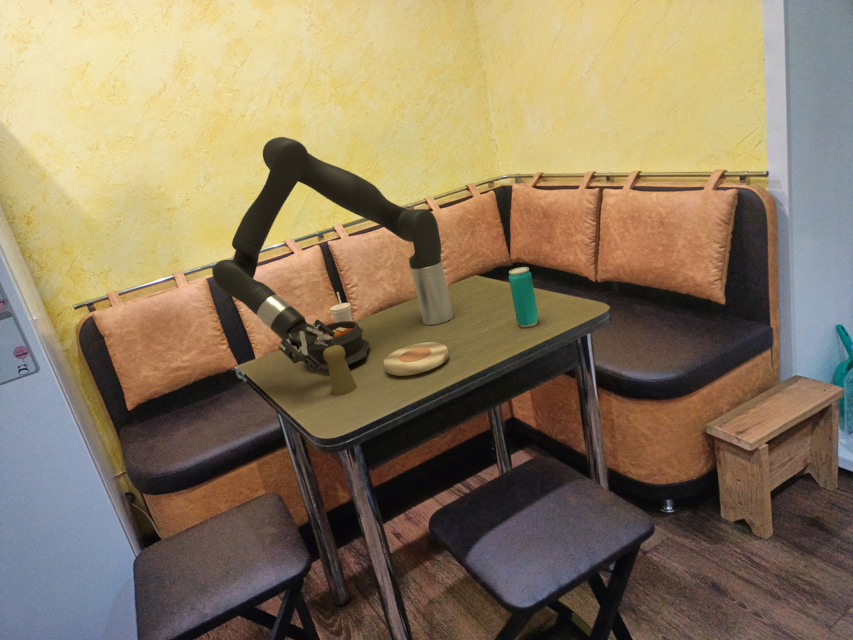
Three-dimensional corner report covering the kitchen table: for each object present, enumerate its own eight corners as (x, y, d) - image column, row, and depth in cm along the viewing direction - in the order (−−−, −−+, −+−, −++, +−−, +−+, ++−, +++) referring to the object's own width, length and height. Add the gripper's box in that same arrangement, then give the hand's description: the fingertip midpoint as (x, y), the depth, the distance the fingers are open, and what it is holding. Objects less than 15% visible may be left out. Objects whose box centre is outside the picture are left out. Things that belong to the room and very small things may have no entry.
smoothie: (362, 331, 184) (350, 288, 180) (351, 339, 179) (339, 295, 175) (345, 332, 187) (333, 290, 183) (334, 340, 182) (321, 297, 178)
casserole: (383, 359, 157) (375, 330, 154) (315, 383, 151) (306, 353, 149) (358, 337, 180) (351, 311, 177) (298, 357, 174) (290, 331, 172)
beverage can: (539, 319, 160) (530, 265, 155) (539, 326, 154) (529, 271, 150) (518, 322, 161) (508, 269, 156) (517, 329, 156) (507, 274, 151)
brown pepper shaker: (352, 393, 140) (339, 350, 137) (328, 396, 142) (315, 354, 138) (359, 382, 146) (348, 340, 142) (337, 385, 147) (325, 344, 144)
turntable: (396, 355, 158) (393, 345, 157) (454, 348, 153) (452, 338, 152) (377, 382, 143) (374, 371, 142) (441, 375, 138) (439, 364, 137)
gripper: (265, 317, 137) (316, 363, 134) (304, 296, 148) (353, 338, 146) (255, 339, 141) (305, 383, 139) (295, 317, 153) (341, 358, 150)
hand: (329, 360), depth 142 cm, fingers open, 8 cm apart
